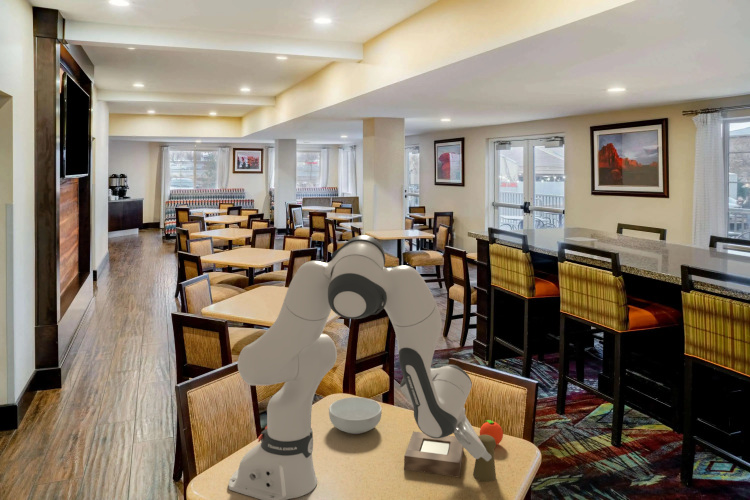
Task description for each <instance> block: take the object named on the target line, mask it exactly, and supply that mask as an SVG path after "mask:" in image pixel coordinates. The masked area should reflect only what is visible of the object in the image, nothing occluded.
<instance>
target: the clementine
mask: <svg viewBox="0 0 750 500" xmlns="http://www.w3.org/2000/svg"><path fill="white" fill-rule="evenodd" d="M480 435H490V436H492V437H493V438H494V439H495V441H496V446H497V445H499V444H500V443H501V442H502V440H503V437H504V431H503V429H502V427H501V425H500V424H499V423H498V422H496V421H493V420H491V419H488V420H487V419H486V420H484V423H483V424H482V425H481V427H480V430H479V436H480Z"/></svg>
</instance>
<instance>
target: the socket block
mask: <svg viewBox="0 0 750 500" xmlns="http://www.w3.org/2000/svg"><path fill="white" fill-rule="evenodd" d="M424 440H425V441H433V442H441V443H449V444H450V446H449V451H448V455H445V454H437V453H429V452H421V448H422V445H423V442H424ZM464 449H465V448H464V447H463V446H462V445H461V444H460V443H459V441H458V440H457V439H456V437H455V435H454V436H453V435H449V436H446V437H443V438H432V437H429V436H427V435H426V434H424V433H423V432H422V431H413V432H412V434H411V436H410V440H409V442H408V445H407V448H406V451H405V452H404V459H403V460H404V461H403V463H404V464H403V470H407V471H413V472H420V473H425V474H426V473H427V474H433V475H434V474H435V475H442V476H449V477H455V478H460V475H461V470H462V461H463V454H464Z"/></svg>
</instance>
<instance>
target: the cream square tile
mask: <svg viewBox="0 0 750 500" xmlns="http://www.w3.org/2000/svg"><path fill="white" fill-rule="evenodd" d="M449 446H450V444H449V443H441V442H433V441H425V440H424V442H423V445H422V448H421V452H429V453H437V454H445V455H448V451H449Z"/></svg>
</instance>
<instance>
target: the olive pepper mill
mask: <svg viewBox="0 0 750 500" xmlns="http://www.w3.org/2000/svg"><path fill="white" fill-rule="evenodd" d="M478 437H479V439H480V440H481V442H482V443H483V445H484V447H485V448H486V451H488V453H490V455H491V457H492V458H491V459H490V460H489V461H486V460H485V459H484V458H482V457H480V458H479V459H475V462H474V467H473V472H472V476H473V477H474V479H476V480H477V481H479V482H483V483H484V482H485V483H490V482H494V481H495V480H496V478H497V476H496V462H495V454H494V453H495V452H494V450H495V449H496V446H497V445H496V441H495V439H494V438H493V437H492V436H490V435H480V434H479V435H478Z"/></svg>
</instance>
